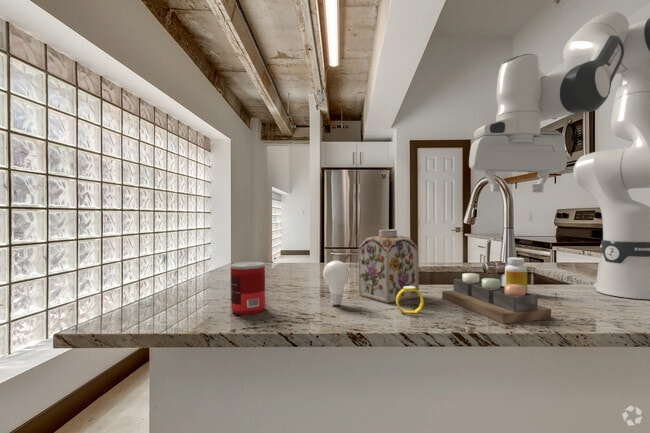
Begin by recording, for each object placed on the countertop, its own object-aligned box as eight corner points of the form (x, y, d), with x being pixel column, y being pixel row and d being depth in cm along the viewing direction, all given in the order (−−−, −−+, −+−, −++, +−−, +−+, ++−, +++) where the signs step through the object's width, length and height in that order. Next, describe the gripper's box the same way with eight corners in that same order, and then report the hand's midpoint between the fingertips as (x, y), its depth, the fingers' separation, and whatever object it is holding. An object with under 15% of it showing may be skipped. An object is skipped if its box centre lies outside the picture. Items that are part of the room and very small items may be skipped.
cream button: (472, 284, 98) (472, 272, 98) (482, 287, 94) (482, 275, 94) (459, 285, 97) (459, 273, 97) (468, 288, 93) (468, 276, 93)
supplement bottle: (530, 296, 99) (530, 259, 99) (508, 295, 100) (508, 259, 100) (523, 292, 104) (523, 257, 104) (502, 291, 105) (502, 256, 105)
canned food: (271, 307, 91) (270, 262, 91) (254, 316, 84) (253, 267, 83) (243, 305, 94) (242, 261, 93) (224, 313, 86) (224, 265, 86)
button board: (482, 295, 101) (481, 277, 100) (551, 318, 79) (551, 294, 79) (442, 298, 97) (442, 279, 97) (503, 323, 76) (503, 299, 76)
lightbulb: (353, 303, 94) (352, 259, 93) (343, 310, 88) (343, 263, 88) (329, 301, 96) (329, 258, 96) (319, 307, 91) (318, 261, 90)
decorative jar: (420, 297, 99) (419, 229, 99) (387, 304, 93) (387, 231, 93) (388, 289, 109) (387, 227, 109) (357, 295, 103) (356, 229, 102)
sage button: (492, 290, 91) (492, 277, 91) (504, 293, 87) (504, 280, 87) (478, 291, 90) (478, 278, 90) (489, 294, 86) (489, 281, 86)
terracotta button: (515, 297, 84) (515, 283, 83) (529, 301, 80) (529, 287, 80) (500, 298, 82) (500, 284, 82) (514, 302, 79) (514, 288, 79)
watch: (398, 315, 84) (396, 289, 84) (396, 312, 87) (394, 286, 86) (425, 313, 84) (423, 287, 84) (422, 310, 86) (420, 284, 86)
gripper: (556, 133, 87) (555, 193, 87) (466, 132, 87) (465, 192, 87) (574, 127, 80) (572, 191, 80) (477, 125, 80) (476, 190, 80)
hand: (516, 192), depth 84 cm, fingers open, 8 cm apart
